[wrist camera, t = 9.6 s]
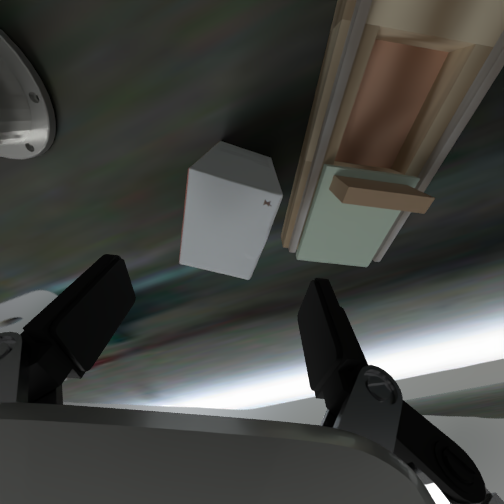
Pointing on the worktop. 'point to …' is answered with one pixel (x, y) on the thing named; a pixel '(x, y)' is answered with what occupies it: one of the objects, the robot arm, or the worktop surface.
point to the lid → (356, 213)
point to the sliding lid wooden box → (395, 92)
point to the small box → (228, 210)
